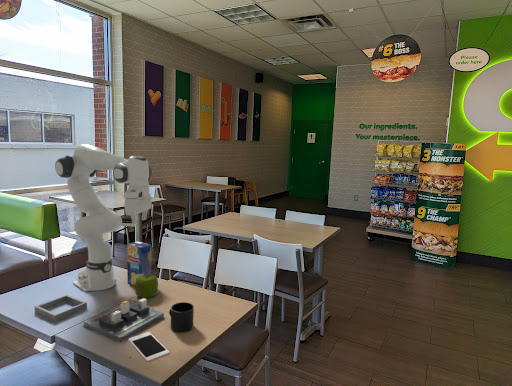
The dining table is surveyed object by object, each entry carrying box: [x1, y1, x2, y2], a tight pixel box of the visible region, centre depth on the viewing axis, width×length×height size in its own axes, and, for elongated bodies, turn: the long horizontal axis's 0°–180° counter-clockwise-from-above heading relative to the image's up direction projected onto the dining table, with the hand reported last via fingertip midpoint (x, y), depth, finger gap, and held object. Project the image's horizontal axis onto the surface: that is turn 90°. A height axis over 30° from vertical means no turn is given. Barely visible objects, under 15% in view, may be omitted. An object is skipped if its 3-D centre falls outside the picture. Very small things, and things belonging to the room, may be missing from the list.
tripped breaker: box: [120, 300, 129, 314], centre depth 151 cm, size 2×3×5 cm, turn 151°
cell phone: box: [127, 331, 170, 363], centre depth 134 cm, size 9×18×1 cm, turn 41°
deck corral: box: [34, 294, 88, 323], centre depth 158 cm, size 15×15×3 cm
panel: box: [83, 298, 165, 343], centre depth 151 cm, size 22×24×8 cm
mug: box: [168, 301, 195, 334], centre depth 149 cm, size 9×12×9 cm
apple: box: [134, 274, 159, 299], centre depth 178 cm, size 11×11×11 cm
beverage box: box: [126, 240, 152, 286], centre depth 192 cm, size 7×11×22 cm, turn 61°
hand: (139, 221), depth 161 cm, fingers open, 8 cm apart
